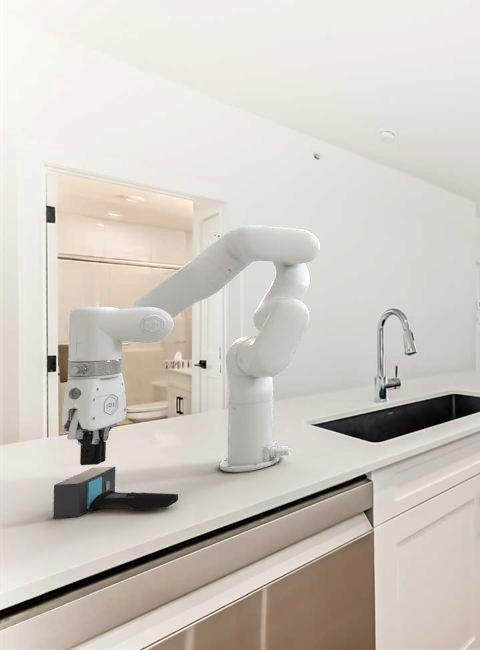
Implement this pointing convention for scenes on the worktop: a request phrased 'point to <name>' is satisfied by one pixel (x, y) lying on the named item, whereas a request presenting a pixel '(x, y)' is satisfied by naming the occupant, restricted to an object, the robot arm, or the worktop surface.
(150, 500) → the electric trimmer
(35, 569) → the worktop surface
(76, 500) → the dark grey box
